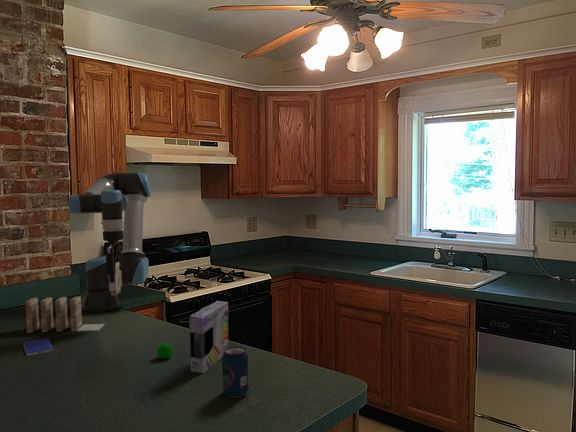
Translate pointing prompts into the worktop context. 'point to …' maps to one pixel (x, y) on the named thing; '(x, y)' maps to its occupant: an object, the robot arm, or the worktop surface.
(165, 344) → the polyhedron
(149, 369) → the worktop surface
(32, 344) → the hard drive
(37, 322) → the domino
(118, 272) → the domino
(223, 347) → the cake pan box
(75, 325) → the domino
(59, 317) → the domino
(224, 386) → the soda can
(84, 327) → the end pad
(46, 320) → the domino
